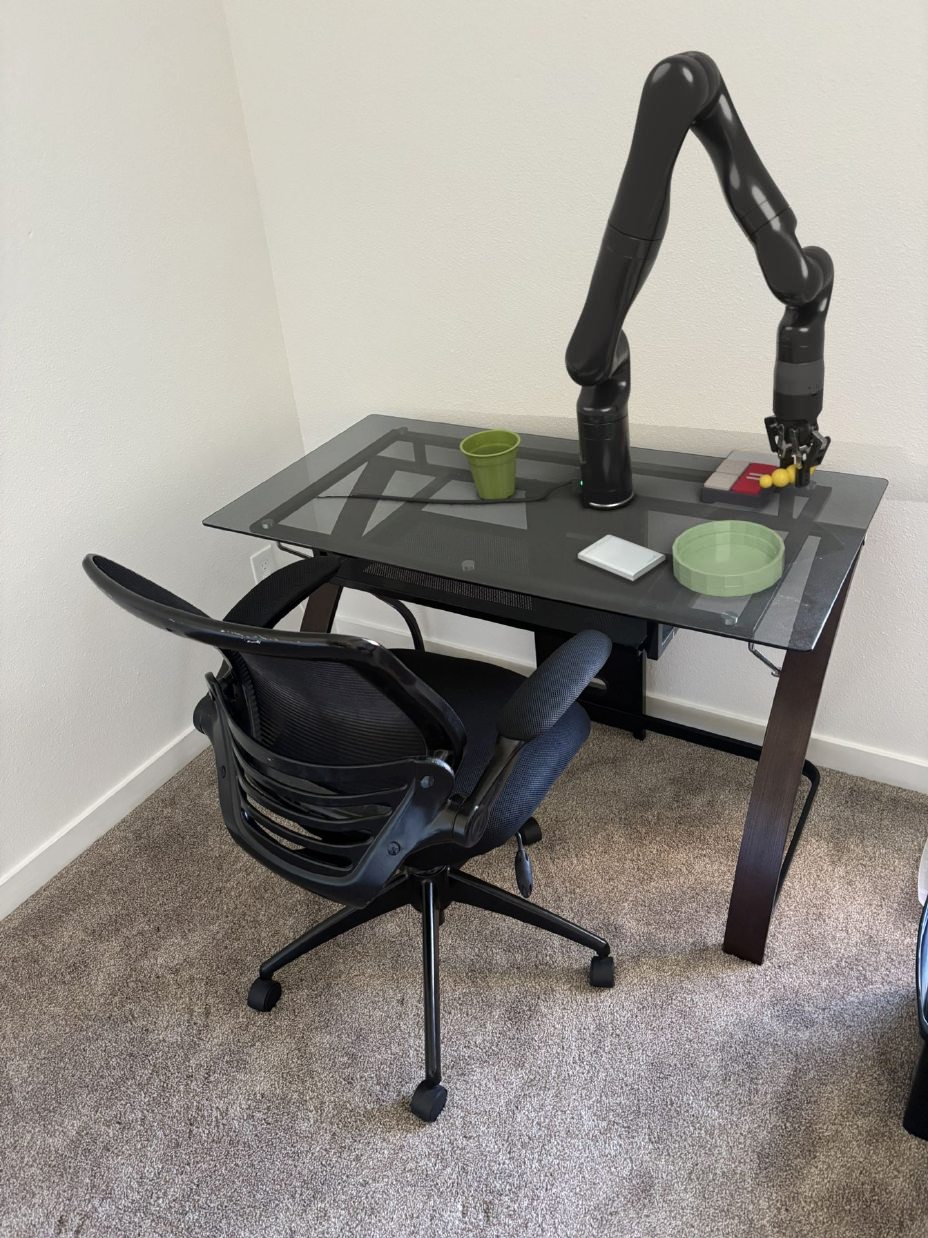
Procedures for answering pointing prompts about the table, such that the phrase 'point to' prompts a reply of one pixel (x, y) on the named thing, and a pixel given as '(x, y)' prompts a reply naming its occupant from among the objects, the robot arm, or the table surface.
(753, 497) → the calculator
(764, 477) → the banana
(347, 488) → the table surface
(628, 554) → the hard drive
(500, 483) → the plant pot
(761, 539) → the bowl
